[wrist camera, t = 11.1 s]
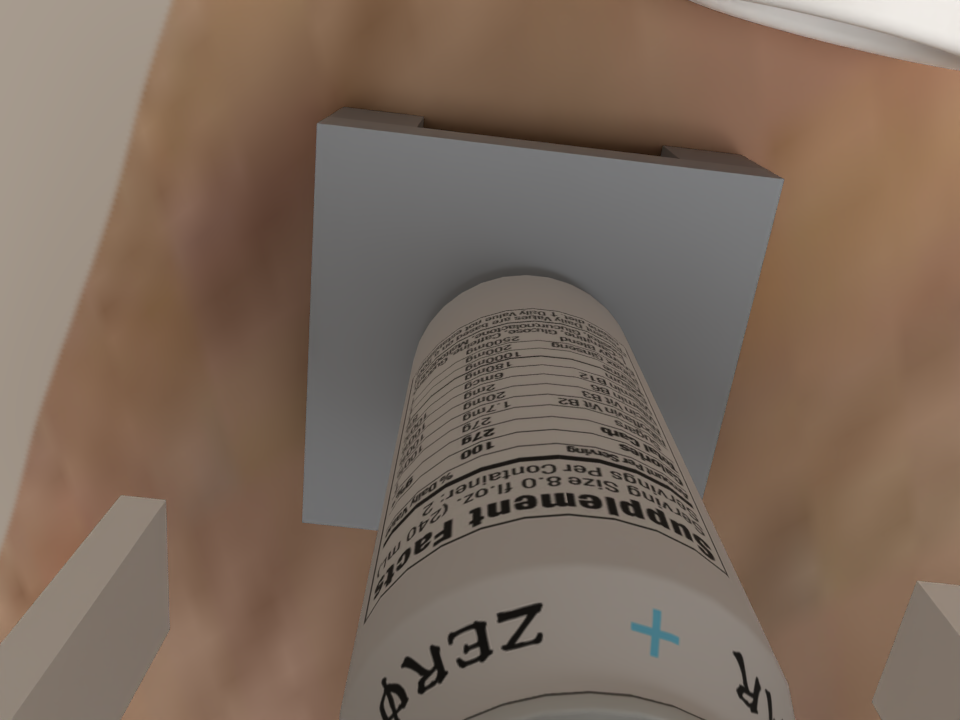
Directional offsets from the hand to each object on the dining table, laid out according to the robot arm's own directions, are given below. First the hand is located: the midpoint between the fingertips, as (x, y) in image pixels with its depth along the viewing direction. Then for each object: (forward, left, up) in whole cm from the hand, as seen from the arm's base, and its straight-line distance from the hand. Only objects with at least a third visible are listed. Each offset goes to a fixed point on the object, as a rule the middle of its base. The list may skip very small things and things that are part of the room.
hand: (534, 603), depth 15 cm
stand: (0, 0, -14) cm, 14 cm away
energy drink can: (0, 0, -10) cm, 10 cm away
